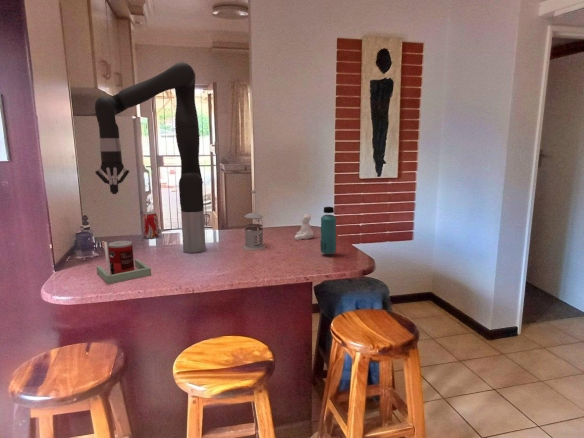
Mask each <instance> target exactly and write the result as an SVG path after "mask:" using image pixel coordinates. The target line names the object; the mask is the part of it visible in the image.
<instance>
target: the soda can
mask: <svg viewBox="0 0 584 438" xmlns="http://www.w3.org/2000/svg"><path fill="white" fill-rule="evenodd" d="M158 216H159V215H158V214H157V211H145V212H143V215H142V219H141V220H142V231H143V232H142V233H143V237H144V238H146V239H151V240H152V239H156V238H158V237H159V236H160V229H159V217H158Z"/></svg>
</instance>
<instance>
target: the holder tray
mask: <svg viewBox="0 0 584 438" xmlns="http://www.w3.org/2000/svg"><path fill="white" fill-rule="evenodd" d="M102 248H104V253H105V254H104V255H105V265H106V270H105V269H104V268H103V267H102V266H101V265H97V266H96V273H97V275H99V277H100V278H101V279H102V280H104V282H105V283H106V284H107V285H110V284H115V283H119V282H124V281H129V280H134V279H138V278H144V277H148V276H152V268H151V267H150V266H148V265H147V264H146V263H144V262H143V261H142V260H140V259H138V258H135V259H134V267H136V268H137V269H134V270H133V271H128V272H123V273H118V274H113V275H112V274H111V271H110V261H109V251H108V242H107V241H104V240H102Z"/></svg>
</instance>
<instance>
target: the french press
mask: <svg viewBox="0 0 584 438" xmlns="http://www.w3.org/2000/svg"><path fill="white" fill-rule="evenodd" d="M250 193H251V194H256V191H255V190H251V191H250ZM254 203H255V202H254V195H252V207H253V208H252V212H249V213H246V214H245V215H244V218H245V220H246V219H247V220H255V221H256V222H258V223H249V224H245V228H244V234H245V235H244V239H245V242H244V243H245V245H243V248H242V249H244V250H246V251H259V250H263V249H266V245H265V244H264V236H263V234H264V227H263V226H264V225H263V217H264V215H263V214H261V213H258V212H255V210H254V209H255V207H254V206H255V205H254ZM260 220H261V224H260Z"/></svg>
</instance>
